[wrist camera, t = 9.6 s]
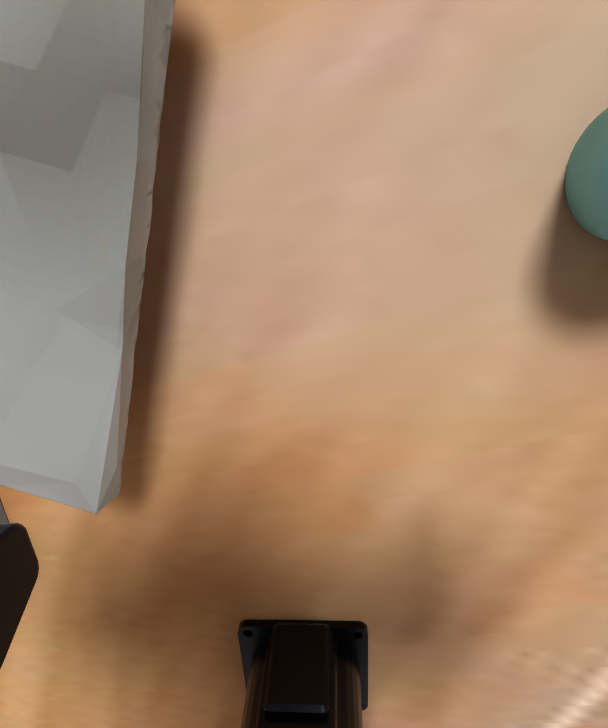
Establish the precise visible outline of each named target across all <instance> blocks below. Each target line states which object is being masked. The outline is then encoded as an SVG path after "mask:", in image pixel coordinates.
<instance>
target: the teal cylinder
mask: <svg viewBox="0 0 608 728" xmlns="http://www.w3.org/2000/svg"><path fill="white" fill-rule="evenodd" d="M565 195H566V200H567V204H568V207H569V209H570V212H571V214H572V215H573V217H574V219H575V220H576V221H577V223H578V224H579V225H580V226H581V227H582V228H583V229H585V230H586V231H587V232H589V233H590V234H592V235H594V236H596V237H598V238H601V239H603V240H606V241H608V108H607V109H606V110H605V111H603V112H602V113H601V114H600V115H599V116H598V117H597V118H595V119H594V120H593V122H592V123H591V124H590V125H589V126H588V127H587V128H586V130H585V131H584V132H583V134H582V135H581V136H580V138H579V140H578V141H577V143H576V145H575V147H574V149H573V151H572V153H571V156H570V159H569V162H568V165H567V170H566V175H565Z"/></svg>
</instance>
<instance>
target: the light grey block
mask: <svg viewBox="0 0 608 728" xmlns="http://www.w3.org/2000/svg"><path fill="white" fill-rule="evenodd" d="M174 8H175V0H0V485H3V486H6V487H9V488H13V489H16V490H19V491H22V492H26V493H29V494H32V495H36V496H39V497H42V498H46V499H49V500H52V501H55V502H59V503H62V504H65V505H69V506H72V507H75V508H79V509H82V510H85V511H88V512H92V513H95V514H97V513H98V512H99V511H100V510H101V509H102V508H104V507H105V506H106V505H107V504H108V503H109V502H110V501H111V500H113V499H114V498H115V497H116V496H117V495H118V494H119V492H120V489H121V471H122V463H123V456H124V452H125V440H126V433H127V427H128V413H129V406H130V399H131V389H132V380H133V368H134V350H135V345H136V340H137V333H138V323H139V311H140V305H141V297H142V288H143V283H144V274H145V263H146V249H147V244H148V239H149V233H150V226H151V217H152V196H153V186H154V179H155V172H156V160H157V152H158V147H159V142H160V135H159V127H160V121H161V115H162V110H163V102H164V92H165V82H166V73H167V64H168V56H169V48H170V40H171V32H172V25H173V19H174Z"/></svg>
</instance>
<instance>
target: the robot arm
mask: <svg viewBox="0 0 608 728" xmlns="http://www.w3.org/2000/svg"><path fill="white" fill-rule="evenodd" d="M38 571H39V565H38V560H37V557H36V554H35V551H34V549H33V546H32V543H31V541H30V538H29V535H28V532H27V530H26V528H25V527H24V526H23V525H22V524H19V523H0V668H1V666H2V664H3V662H4V659H5V657H6V654H7V652H8V649H9V647H10V644H11V642H12V639H13V637H14V634H15V632H16V629H17V627H18V625H19V622H20V620H21V617H22V615H23V612H24V610H25V607H26V605H27V602H28V600H29V597H30V595H31V592H32V590H33V588H34V585H35V583H36V580H37V577H38ZM238 636H239V643H240V649H241V656H242V663H243V669H244V676H245V682H246V689H247V692H246V698H245V704H244V710H243V717H242V723H241V728H362V710H365V709H366V708H367V706H368V631H367V626H366V624H365V623H363V622H359V621H309V620H244V621H242V622H241V623H240V625H239V630H238Z"/></svg>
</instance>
